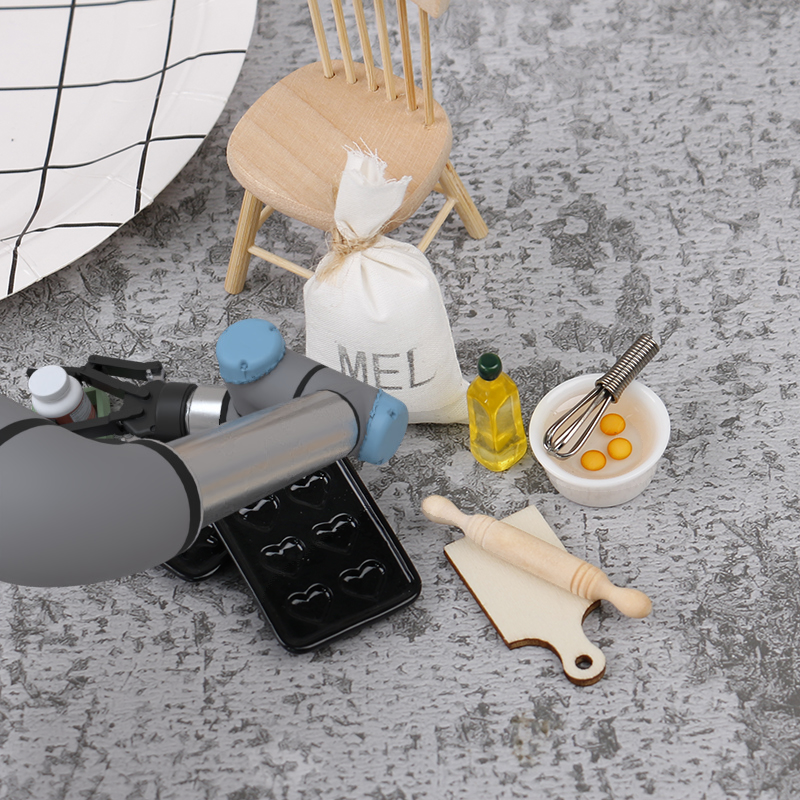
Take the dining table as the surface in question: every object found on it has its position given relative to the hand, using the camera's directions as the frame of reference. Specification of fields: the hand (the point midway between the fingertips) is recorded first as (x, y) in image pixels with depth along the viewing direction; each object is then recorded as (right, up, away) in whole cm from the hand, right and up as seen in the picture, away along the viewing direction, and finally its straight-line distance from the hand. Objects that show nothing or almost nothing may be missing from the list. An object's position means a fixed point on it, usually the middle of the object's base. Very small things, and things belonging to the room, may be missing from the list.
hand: (20, 399), depth 118 cm
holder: (+5, -5, +5) cm, 9 cm away
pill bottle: (+6, -4, +5) cm, 8 cm away
